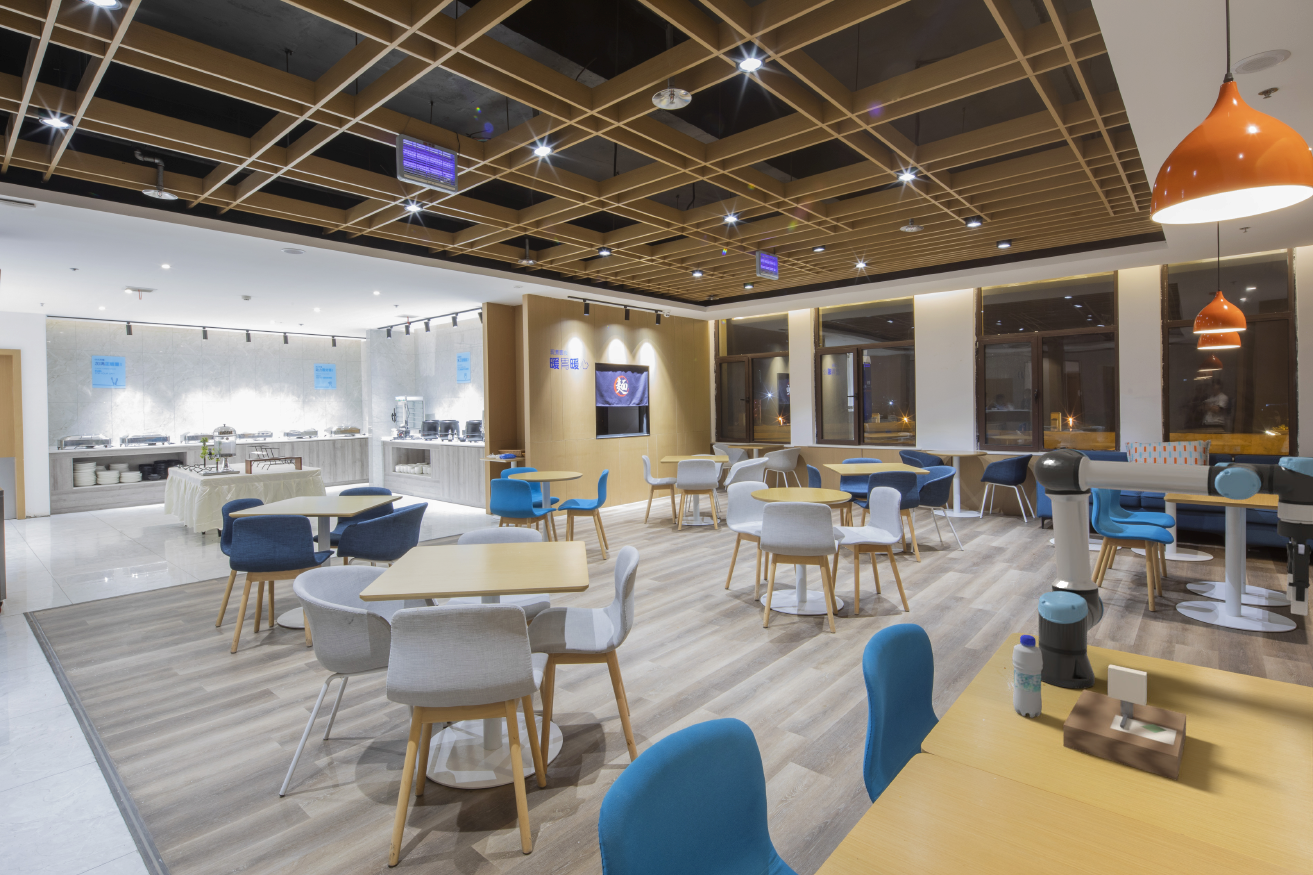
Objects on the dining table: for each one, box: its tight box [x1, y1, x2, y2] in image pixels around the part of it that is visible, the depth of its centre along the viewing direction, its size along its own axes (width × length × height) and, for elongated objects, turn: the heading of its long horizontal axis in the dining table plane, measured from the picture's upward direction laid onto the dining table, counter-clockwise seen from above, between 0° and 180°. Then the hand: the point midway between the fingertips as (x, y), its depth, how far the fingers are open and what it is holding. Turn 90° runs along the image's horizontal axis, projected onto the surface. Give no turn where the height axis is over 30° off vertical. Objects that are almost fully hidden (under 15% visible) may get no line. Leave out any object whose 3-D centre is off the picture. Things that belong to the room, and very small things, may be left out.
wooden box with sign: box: [1062, 689, 1187, 781], centre depth 144 cm, size 20×24×5 cm
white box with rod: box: [1107, 664, 1148, 728], centre depth 142 cm, size 7×9×11 cm
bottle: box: [1011, 634, 1043, 718], centre depth 157 cm, size 7×7×20 cm
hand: (1296, 607), depth 152 cm, fingers open, 13 cm apart
